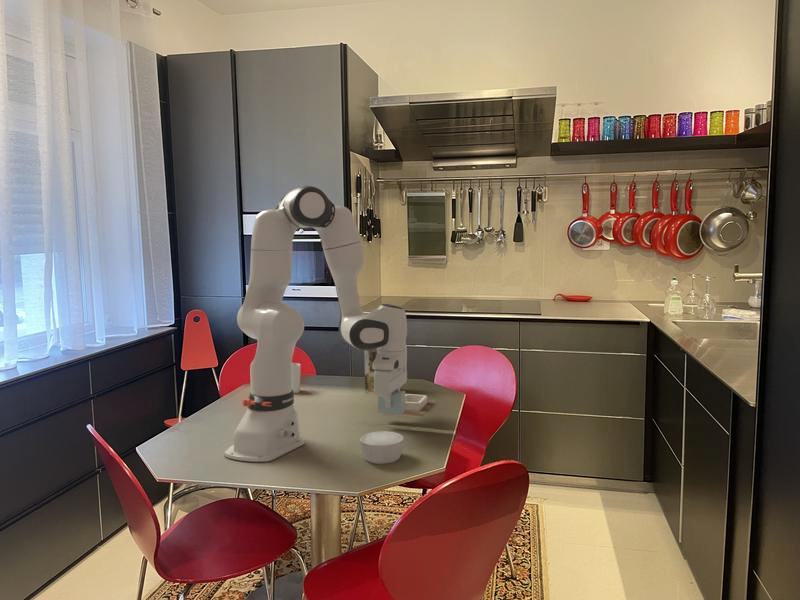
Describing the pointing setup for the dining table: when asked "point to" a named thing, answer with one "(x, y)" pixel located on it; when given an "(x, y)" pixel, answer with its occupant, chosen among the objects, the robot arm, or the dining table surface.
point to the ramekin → (382, 447)
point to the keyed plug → (393, 403)
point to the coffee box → (369, 369)
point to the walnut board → (415, 413)
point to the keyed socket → (415, 402)
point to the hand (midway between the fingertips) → (391, 404)
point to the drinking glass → (295, 377)
